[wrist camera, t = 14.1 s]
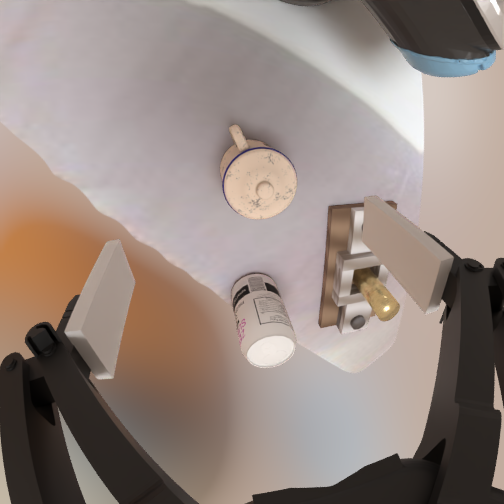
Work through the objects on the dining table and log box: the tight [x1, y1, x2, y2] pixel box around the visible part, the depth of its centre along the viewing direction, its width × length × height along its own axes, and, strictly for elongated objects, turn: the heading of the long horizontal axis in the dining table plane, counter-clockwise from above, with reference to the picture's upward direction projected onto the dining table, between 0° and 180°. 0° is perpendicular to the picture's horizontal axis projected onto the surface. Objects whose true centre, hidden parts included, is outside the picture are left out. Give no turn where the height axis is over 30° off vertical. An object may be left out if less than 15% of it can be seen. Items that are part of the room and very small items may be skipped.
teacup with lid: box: [220, 125, 297, 219], centre depth 37 cm, size 12×9×12 cm
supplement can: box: [231, 274, 297, 368], centre depth 47 cm, size 8×8×15 cm
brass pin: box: [352, 267, 400, 321], centre depth 48 cm, size 4×4×12 cm
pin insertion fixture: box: [319, 201, 397, 334], centre depth 52 cm, size 26×13×6 cm, turn 3°
